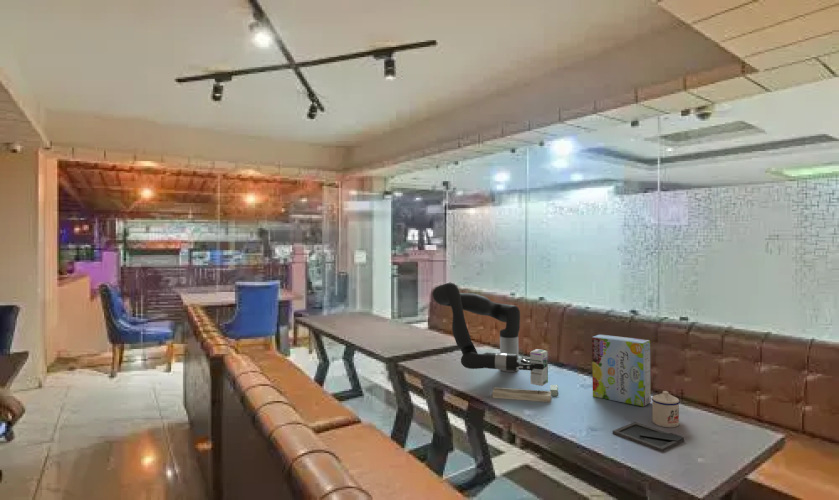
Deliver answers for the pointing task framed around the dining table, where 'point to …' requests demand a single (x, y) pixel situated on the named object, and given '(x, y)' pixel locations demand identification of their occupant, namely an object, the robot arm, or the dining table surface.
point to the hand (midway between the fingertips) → (544, 364)
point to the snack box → (621, 369)
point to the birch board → (522, 394)
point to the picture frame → (649, 436)
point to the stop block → (554, 390)
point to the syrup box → (539, 375)
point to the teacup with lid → (665, 410)
